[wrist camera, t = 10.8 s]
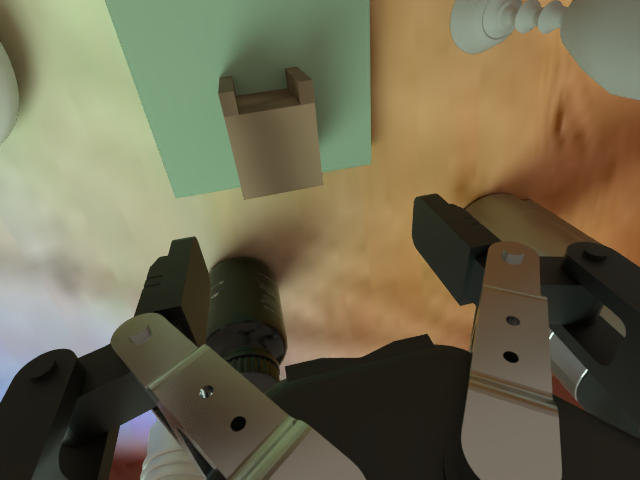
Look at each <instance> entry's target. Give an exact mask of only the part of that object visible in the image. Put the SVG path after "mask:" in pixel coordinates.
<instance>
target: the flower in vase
mask: <svg viewBox="0 0 640 480" xmlns="http://www.w3.org/2000/svg"><path fill="white" fill-rule="evenodd" d="M18 110H19V92H18V84H17V80H16V77H15V73H14V70H13V67H12V65H11V62H10V60H9V57H8V55H7V53H6V51H5V49H4V48H3V46H2V44H1V42H0V145H1V144H2V143H3V142H4V141H5V140H6V139H7V137H8V136H9V134H10V133H11V131H12V129H13V127H14V125H15V122H16V119H17V115H18Z"/></svg>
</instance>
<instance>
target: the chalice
mask: <svg viewBox="0 0 640 480" xmlns="http://www.w3.org/2000/svg"><path fill="white" fill-rule="evenodd" d="M535 26H537V27H538V28H539V31H540V32H541V33H544V34H547V33H550V32H552V31H553V30H554V29H557V28H561V31H560V37H561V40H562V43H563V45H564V46H565V47H566V49H567V50H568V51H569V53H570V54H571V56H572V57H573V58H574V60H575V61H576V62H577V64H578V65H579V67H580V68H581V69H582V70H583V71H584V72H585V73H586V74H587V75H588V76H590V77H591V78H592V79H593V80H594V81H596V82H597V83H598V84H599V85H600V86H602V87H603V88H604V89H605V90H606V91H608V92H609V93H610V94H613V95H617V96H622V97H626V98H631V99H635V100H639V101H640V0H573V1H572V3H571V4H570V5H569V7H565V6H563V4H562V3H561V2H560V1H558V0H555V1H552V2H550V3H548V4H547V5H546V6H545V7H543V8H542V7H541V5H540V2H539V1H538V0H528V1H526V2H525V3H524V4H523V5H522V2H521V0H455V3H454V7H453V10H452V13H451V22H450V28H451V34H452V38H453V40H454V42H455V44H456V45H457V47H458V48H460V49H461V50H462V51H464V52H467V53H471V54H475V53H481V52H484V51H485V50H487V49H489V48H491V47H493V46H495V45H497V44H499V43H501V42H502V41H504V40H505V39H506V38H507V37H508V36H509V35H510V34H511V33H512V32H513V30H514V29H515V27H516V29H517V31H518V32H519V33H527V32H529V31H531V30H532V29H533V28H534V27H535Z"/></svg>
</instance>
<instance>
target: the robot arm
mask: <svg viewBox="0 0 640 480" xmlns="http://www.w3.org/2000/svg"><path fill="white" fill-rule="evenodd" d="M412 239H413V243H414V245H415V247H416V249H417V250H418V252H419V253H420V254H421V255H422V257H423V258H424V259H425V261H426V262H427V263H428V265H429V266H430V267H431V268H432V270H433V271H434V272H435V274H436V275H437V276H438V278H439V279H440V280H441V281H442V283H443V284H444V285H445V287H446V288H447V289H448V291H449V292H450V293H451V294H452V296H453V297H454V298H455V300H456V301H457V302H458V304H459V305H460V306H461V305H466V304H470V303H474V304H475V305H476V310H475V315H474V321H473V327H472V333H471V338H470V344H469V350H468V351H466V350H463V349H460V348H456V347H452V346H447V345H434V344H433V342H432V341H431V339H430V337H429V336H428V334H424V335H420V336H416V337H411V338H407V339H403V340H398V341H394V342H392V343H390V344H388V345H386V346H384V347H382V348H380V349H378V350H376V351H374V352H372V353H370V354H368V355H366V356H363V357H360V358H320V359H315V360H311V361H307V362H302V363H298V364H294V365H289V366H285V370H286V377H287V378H286V379H284V380H282V381H280V382H278V383H277V384H275V385H274V386H272V387H271V388H270V389H268V390H267V391H266V392H265V393H264V394H263V393H262V392H261V391H260V390H259V389H258V388H256V387H255V386H254V385H253V384H252V383H251V382H249V381H248V380H247V379H246V378H245V377H244V376H242V375H241V374H240V373H239V372H238V371H237V370H235V369H234V368H233V367H232V366H231V365H230V364H228V363H227V362H226V361H225V360H224V359H223V358H221V357H220V356H219V355H218V354H217V353H216V352H214V351H213V350H212V349H211V348H210V347H208V346H207V345H206V337H207V325H208V313H209V301H210V289H211V285H210V277H209V273H208V270H207V267H206V264H205V261H204V258H203V255H202V252H201V249H200V246H199V243H198V241H197V239H196V237H195V236H194V237H188V238H183V239H177V240H173V241H172V243H171V246H170V250H169V254H168V256H163V257H159V258H158V259H157V260H156V261H155V263H154V264H153V265H152V266H151V267H150V269H149V272H148V275H147V280H146V281H145V284H144V289H143V290H142V293H141V297H140V300H139V303H138V306H137V309H136V312H135V315H134V317H133V318H131V319H129V320H127V321H126V322H124V323H123V324H122V325H121V326H119V328H118V329H117V330H116V331H115V332H114V334H113V336H112V338H111V343H110V344H109V345H107V346H105V347H103V348H100V349H98V350H96V351H93V352H91V353H89V354H86V355H84V356H82V357H80V358H78V357H77V356H76V355H75V353H74V352H73V351H71V350H69V349H57V350H52V351H49V352H47V353H44V354H42V355H40V356H38V357H36V358H35V359H33V360H32V361H30V362H29V363H27V364H26V365H25V366H24V367H23V368H22V369H21V370H20V371H19V372H18V373H17V374H16V375H15V377H14V379H13V380H12V382H11V384H10V386H9V388H8V390H7V391H6V393H5V395H4V397H3V399H2V401H1V403H0V480H109V475H110V470H111V465H112V461H113V456H114V451H115V447H116V442H117V437H118V432H119V428H120V425H122V424H124V423H126V422H128V421H130V420H131V419H133V418H135V417H137V416H139V415H141V414H143V413H145V412H147V411H149V410H152V412H153V413H154V414H155V415H156V417H157V418H158V419H159V420H160V422H161V423H162V424H163V425H164V427H165V428H166V429H167V430H168V432H169V433H170V434H171V435H172V437H173V438H174V439H175V440H176V442H177V443H178V444H179V445H180V447H181V448H182V449H183V450H184V452H185V453H186V454H187V456H188V457H189V459H190V460H191V462H192V463H193V464H194V466H195V467H196V469H197V470H198V471H199V473H200V474H201V475H202V477H203V478H204V479H205V480H640V267H638V266H637V265H636V264H634V263H633V262H631V261H630V260H628V259H627V258H625V257H624V256H622V255H621V254H619V253H618V252H616V251H615V250H613V249H611V248H609V247H607V246H604V245H602V244H601V243H599V242H597V241H596V240H594V239H593V238H591V237H589V236H588V235H586V234H585V233H583V232H581V231H580V230H578V229H577V228H575V227H574V226H572V225H570V224H569V223H567V222H566V221H564V220H562V219H561V218H559V217H558V216H556V215H555V214H553V213H551V212H550V211H548V210H547V209H545V208H543V207H542V206H540V205H539V204H537V203H536V202H534V201H532V200H531V199H529V200H521V199H519V198H518V197H516V196H514V195H511V194H508V193H497V194H492V195H488V196H486V197H483V198H481V199H479V200H477V201H476V202H474V203H472V204H471V205H470V206H468V207H467V208H466V209H463V208H461V207H459V206H456V205H454V204H448V203H447V202H446V201H445V200H444V199H443V198H442V197H440V196H439V195H438V194H430V195H424V196H419V197H416V198H415V200H414V207H413V223H412ZM551 372H552V373H553V374H554V376H555V377H556V378H557V379H558V380H559V381H560V382H561V383H562V385H563V386H564V387H565V388H566V389H567V390H568V391H569V392H570V394H571V395H572V396H573V397H574V398H575V399H576V400H577V401H578V402H579V404H580V405H581V406H582V407H583V408H584V409H585V411H584V410H582V409H580V408H578V407H577V406H574V405H573V404H571V403H569V402H567V401H565V400H563V399H561V398H559V397H557V396H555V395H553V394H552V380H551Z"/></svg>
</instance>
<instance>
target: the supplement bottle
mask: <svg viewBox="0 0 640 480" xmlns="http://www.w3.org/2000/svg"><path fill="white" fill-rule="evenodd" d="M209 277H210V285H211V289H210V301H209V313H208V325H207V337H206V345H207V346H208V347H210V348H211V349H212V350H213V351H214V352H216V353H217V354H218V355H219V356H220V357H221V358H223V359H224V360H225V361H226V362H227V363H228V364H230V365H231V366H232V367H233V368H234V369H235V370H237V371H238V372H239V373H240V374H241V375H242V376H244V377H245V378H246V379H247V380H248V381H249V382H251V383H252V384H253V385H254V386H255V387H256V388H258V389H259V390H260V391H261V392H262V393H263V394H264V393H265V392H266V391H267V390H268V389H270V388H271V387H272V386H274V385H275V384H277V383H278V382H280V379H279V375H280V369H279V366H280V364H281V363H282V361H283V359H284V357H285V355H286V352H287V337H286V331H285V325H284V319H283V313H282V308H281V302H280V296H279V290H278V285H277V280H276V277H275V274H274V272H273V271H272V270H271V268H270V267H269V266H268V265H266V264H265V263H263V262H261V261H259V260H257V259H253V258H248V257H238V258H232V259H228V260H226V261H223V262H221V263H220V264H218V265H217V266H215V267H214V268H213V269H212V270H211V272H210V273H209Z"/></svg>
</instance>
